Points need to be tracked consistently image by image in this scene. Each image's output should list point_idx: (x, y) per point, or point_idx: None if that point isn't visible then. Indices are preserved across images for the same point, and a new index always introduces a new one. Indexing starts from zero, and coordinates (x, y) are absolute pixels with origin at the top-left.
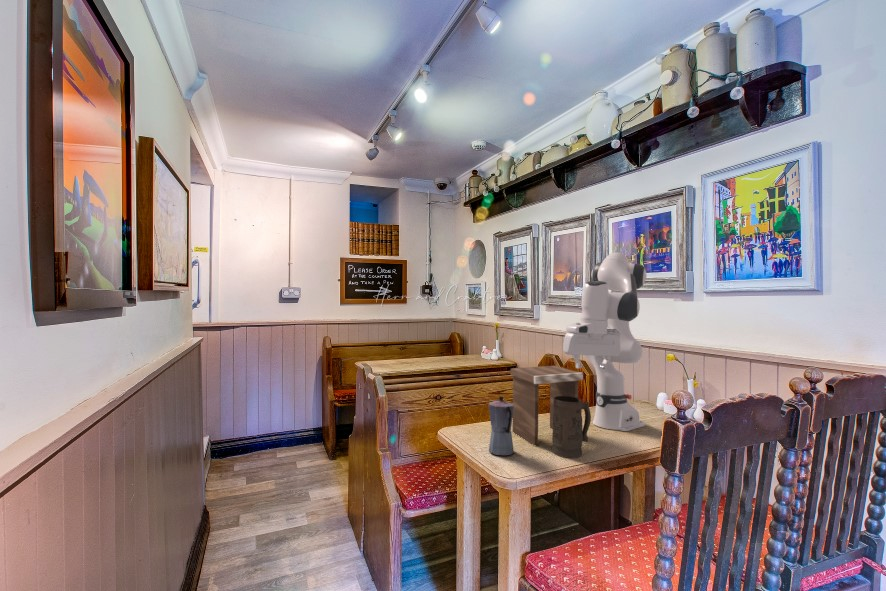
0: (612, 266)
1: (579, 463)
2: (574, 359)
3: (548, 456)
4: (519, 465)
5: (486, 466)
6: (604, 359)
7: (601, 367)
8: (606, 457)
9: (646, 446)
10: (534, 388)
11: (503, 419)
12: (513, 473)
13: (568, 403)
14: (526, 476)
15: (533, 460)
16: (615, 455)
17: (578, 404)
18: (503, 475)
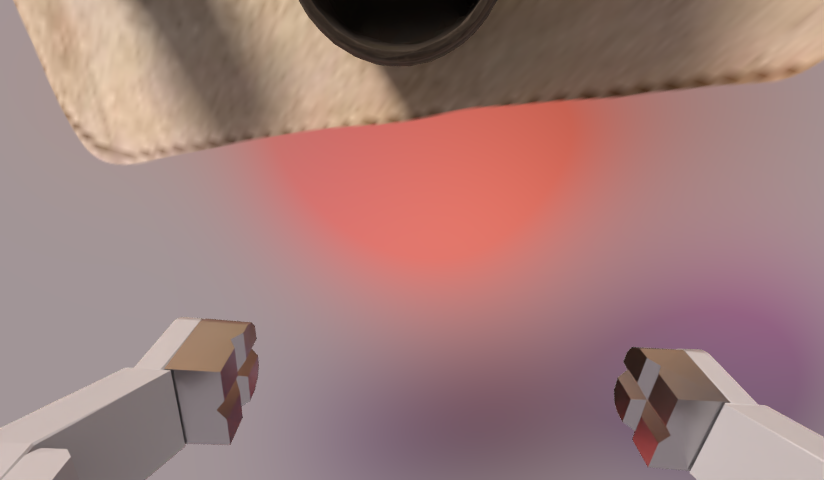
0: None
1: (394, 114)
2: (46, 431)
3: None
4: (161, 62)
5: (31, 32)
6: (822, 475)
7: (632, 379)
8: (537, 95)
9: (819, 37)
10: None
11: None
12: (123, 119)
13: (340, 44)
14: (162, 153)
15: (230, 32)
16: (589, 88)
17: (424, 58)
18: (86, 124)
